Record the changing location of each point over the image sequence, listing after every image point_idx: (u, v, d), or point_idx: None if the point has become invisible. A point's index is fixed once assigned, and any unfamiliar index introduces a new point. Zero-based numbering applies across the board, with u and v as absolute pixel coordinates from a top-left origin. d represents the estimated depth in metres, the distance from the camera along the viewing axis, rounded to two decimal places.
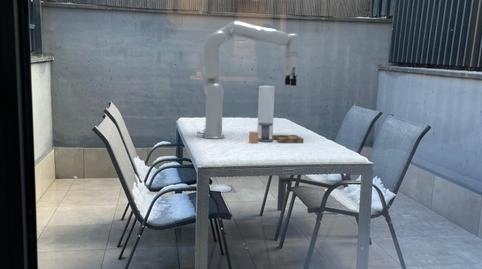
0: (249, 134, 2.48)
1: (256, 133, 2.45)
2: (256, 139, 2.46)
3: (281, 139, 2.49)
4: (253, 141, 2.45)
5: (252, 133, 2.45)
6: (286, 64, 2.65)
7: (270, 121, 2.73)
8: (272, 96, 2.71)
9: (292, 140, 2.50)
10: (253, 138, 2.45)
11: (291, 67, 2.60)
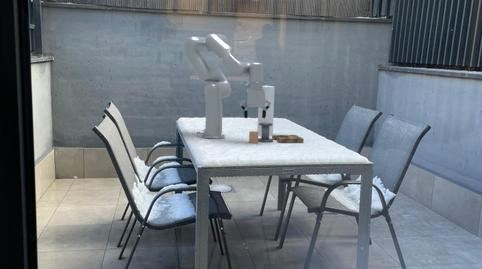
0: (249, 134, 2.48)
1: (256, 133, 2.45)
2: (256, 139, 2.46)
3: (281, 139, 2.49)
4: (253, 141, 2.45)
5: (252, 133, 2.45)
6: (255, 96, 2.41)
7: (270, 121, 2.73)
8: (272, 96, 2.71)
9: (292, 140, 2.50)
10: (253, 138, 2.45)
11: None
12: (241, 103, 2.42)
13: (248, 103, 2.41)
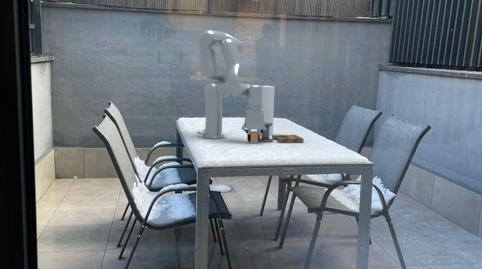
0: None
1: (256, 133, 2.45)
2: (256, 139, 2.46)
3: (281, 139, 2.49)
4: (253, 141, 2.45)
5: (252, 133, 2.45)
6: (254, 118, 2.43)
7: (270, 121, 2.73)
8: (272, 96, 2.71)
9: (292, 140, 2.50)
10: (253, 138, 2.45)
11: (263, 121, 2.45)
12: (243, 128, 2.45)
13: (247, 125, 2.43)
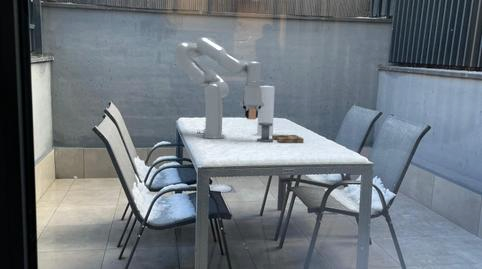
0: None
1: (254, 109, 2.49)
2: (254, 115, 2.50)
3: (281, 139, 2.49)
4: (251, 117, 2.49)
5: (250, 109, 2.49)
6: (252, 94, 2.47)
7: (270, 121, 2.73)
8: (272, 96, 2.71)
9: (292, 140, 2.50)
10: (251, 114, 2.49)
11: (261, 97, 2.49)
12: (241, 104, 2.48)
13: (245, 101, 2.47)
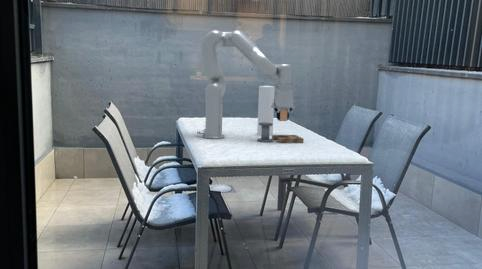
0: None
1: (285, 111, 2.53)
2: (285, 117, 2.53)
3: (281, 139, 2.49)
4: (282, 119, 2.53)
5: (281, 111, 2.52)
6: (283, 96, 2.50)
7: (270, 121, 2.73)
8: (272, 96, 2.71)
9: (292, 140, 2.50)
10: (282, 116, 2.52)
11: (292, 99, 2.53)
12: (273, 106, 2.52)
13: (277, 103, 2.50)
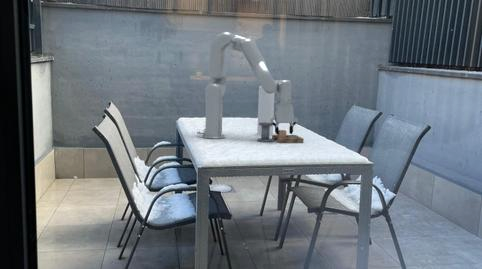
0: None
1: (284, 132, 2.54)
2: None
3: (281, 139, 2.49)
4: None
5: (280, 132, 2.54)
6: (284, 112, 2.52)
7: None
8: (272, 96, 2.71)
9: (292, 140, 2.50)
10: (281, 136, 2.54)
11: (293, 114, 2.54)
12: (272, 120, 2.53)
13: (278, 119, 2.52)
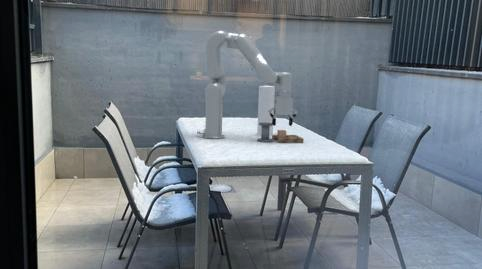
0: (277, 133, 2.57)
1: (284, 132, 2.54)
2: None
3: (281, 139, 2.49)
4: None
5: (280, 132, 2.54)
6: (283, 104, 2.51)
7: (270, 121, 2.73)
8: (272, 96, 2.71)
9: (292, 140, 2.50)
10: (281, 136, 2.54)
11: (292, 107, 2.53)
12: (270, 111, 2.52)
13: (277, 111, 2.51)
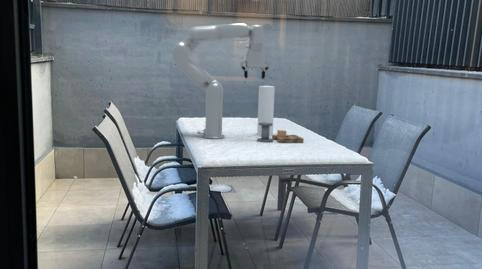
0: (277, 133, 2.57)
1: (284, 132, 2.54)
2: None
3: (281, 139, 2.49)
4: None
5: (280, 132, 2.54)
6: (255, 56, 2.53)
7: (270, 121, 2.73)
8: (272, 96, 2.71)
9: (292, 140, 2.50)
10: (281, 136, 2.54)
11: (264, 60, 2.56)
12: (241, 63, 2.54)
13: (248, 63, 2.53)
